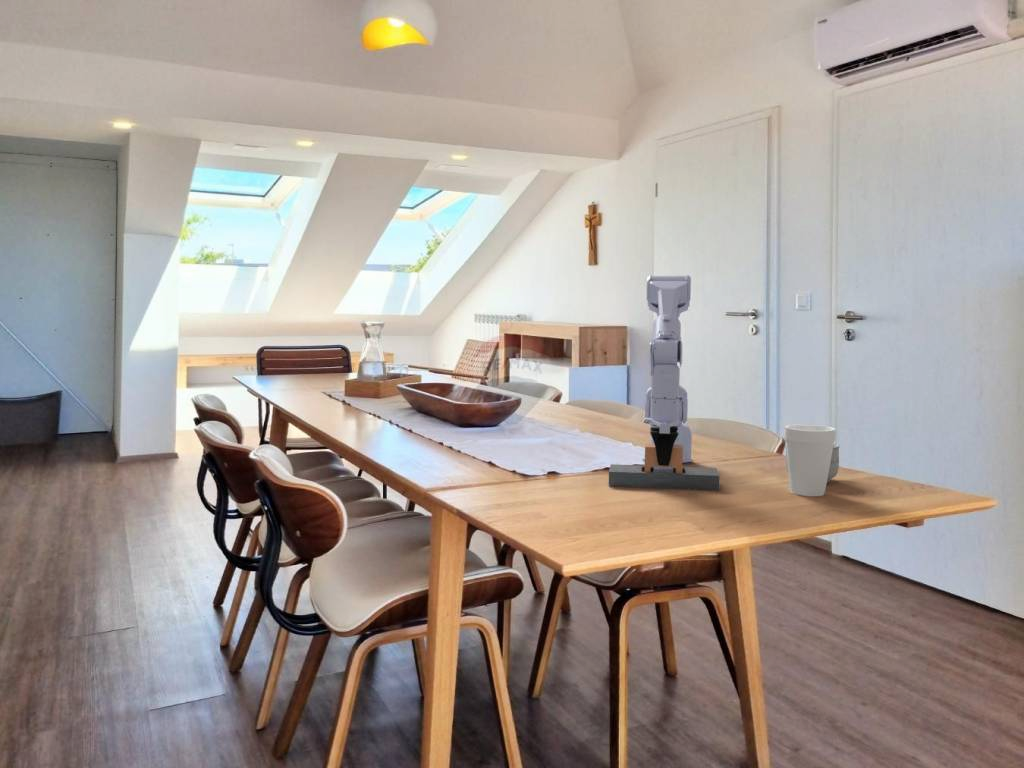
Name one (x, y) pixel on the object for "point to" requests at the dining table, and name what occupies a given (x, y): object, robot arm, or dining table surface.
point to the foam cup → (809, 457)
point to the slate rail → (664, 477)
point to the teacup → (833, 464)
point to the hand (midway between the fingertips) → (663, 463)
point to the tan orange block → (674, 461)
